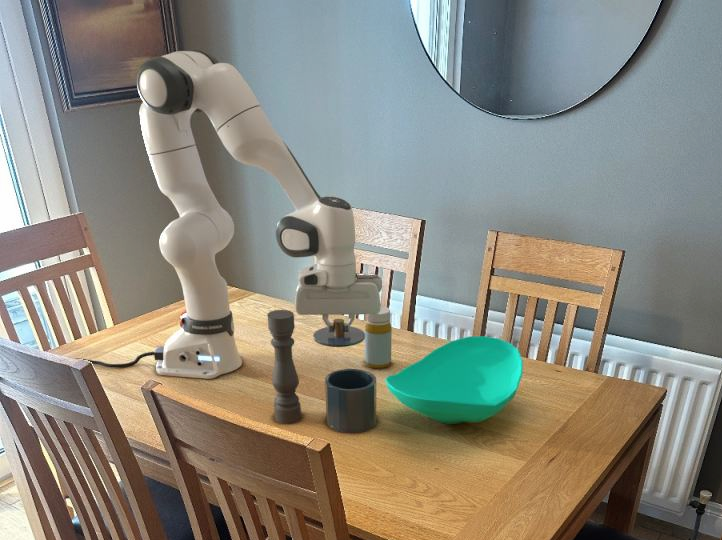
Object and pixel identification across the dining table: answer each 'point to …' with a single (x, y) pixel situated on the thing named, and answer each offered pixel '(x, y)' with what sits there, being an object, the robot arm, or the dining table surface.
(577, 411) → the dining table surface
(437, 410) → the table top decor
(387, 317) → the bottle
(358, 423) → the crock
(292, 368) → the candle holder
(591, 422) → the dining table surface
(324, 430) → the dining table surface
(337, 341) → the lid
